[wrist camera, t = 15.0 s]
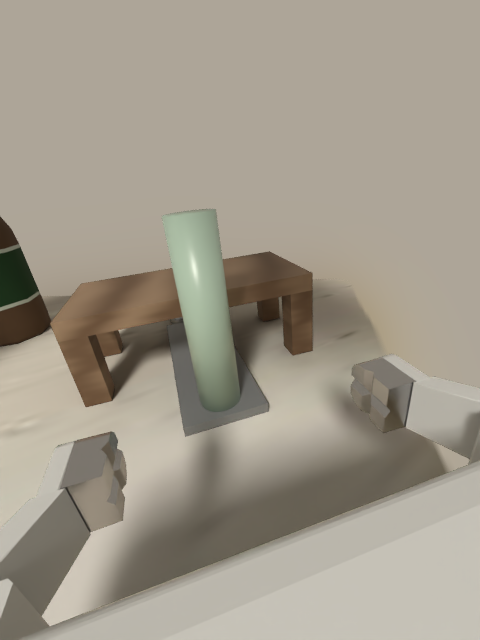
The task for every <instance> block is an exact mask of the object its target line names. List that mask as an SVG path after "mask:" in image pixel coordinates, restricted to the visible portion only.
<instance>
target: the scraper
mask: <svg viewBox="0 0 480 640" xmlns="http://www.w3.org/2000/svg"><path fill="white" fill-rule="evenodd" d="M162 221H163V225H164V230H165V235H166V240H167V244H168V249H169V254H170V259H171V263H172V269H173V273H174V278H175V283H176V288H177V292H178V297H179V302H180V307H181V312H182V316H183V321H184V322H182V323H177V324H172V325H168V326H167V330H168V336H169V343H170V349H171V355H172V361H173V367H174V373H175V380H176V386H177V392H178V398H179V404H180V411H181V417H182V423H183V429H184V433H185V437H186V436H189V435H192V434H196V433H199V432H202V431H206V430H209V429H212V428H216V427H219V426H222V425H225V424H229V423H232V422H235V421H239V420H242V419H245V418H249V417H252V416H255V415H258V414H262V413H265V412H268V411H269V408H268V402H267V401H266V399H265V397H264V396H263V394H262V392H261V390H260V389H259V387H258V385H257V384H256V382H255V380H254V378H253V377H252V375H251V373H250V372H249V370H248V368H247V366H246V365H245V363H244V361H243V360H242V358H241V356H240V354H239V353H238V351H237V349H236V348H235V346H234V342H233V335H232V327H231V320H230V312H229V305H228V297H227V290H226V282H225V274H224V267H223V259H222V252H221V245H220V237H219V229H218V223H217V215H216V209H202V210H192V211H184V212H177V213H172V214H167V215H163V216H162Z"/></svg>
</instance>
